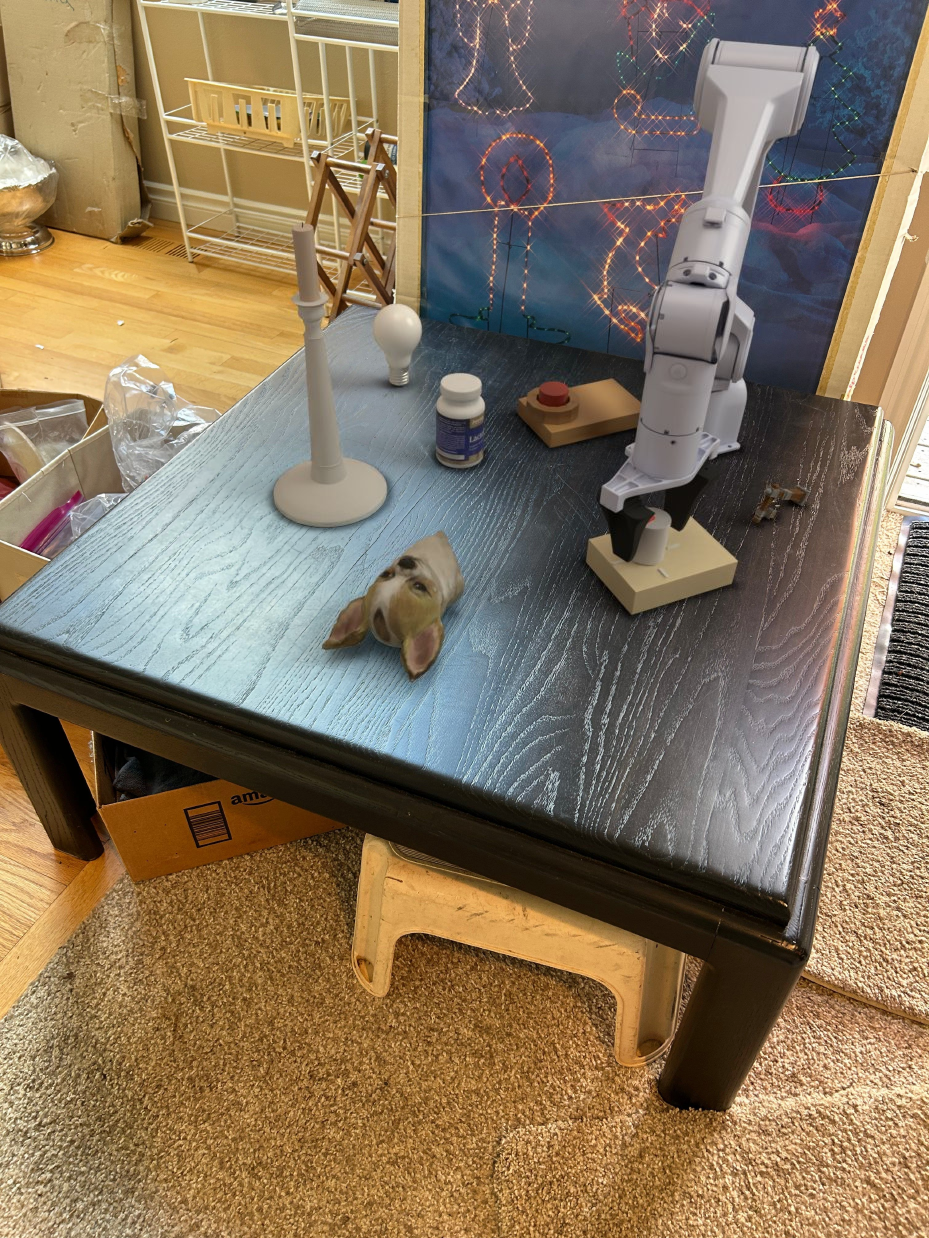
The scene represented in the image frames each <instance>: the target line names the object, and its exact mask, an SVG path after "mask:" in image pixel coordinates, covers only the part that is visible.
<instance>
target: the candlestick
mask: <svg viewBox="0 0 929 1238" xmlns="http://www.w3.org/2000/svg"><path fill="white" fill-rule="evenodd" d="M291 235H292V243H293V244H292V245H293V252H294V253H293V254H294V261H295V269H296V276H297V277H296V279H297V286H298V287H297V289H298V292H297V293H295V294H293V295H292V296H291V299H290V300H291V302H292V303H293V304H295V305H296V307H297V315H298V317H299V318H300V319H301V320H302V323H303V325H304V332H303V334H302V336H303V343H304V356H305V357H304V358H305V372H306V389H307V390H306V393H307V405H308V406H307V407H308V422H309V425H308V426H309V439H310V441H309V442H310V459H309V460H305V461H302V462H301V463H298V464H296V465H294V466H293V467H291V468H289V469H288V470H287V471H286V472H284V473H283V474H282V475H281V476H280V477H279V478H278V480H277V481H276V483H275V485H274V487H273V492H272V493H273V494H272V495H273V502H274V505H275V507H276V509H277V510H278V511H279V512H280V514H281V515H283V516H284V517H285V518H287V519H289V520H290V521H292V522H295V523H297V524H301V525H304V526H309V527H315V528H316V527H317V528H334V527H335V528H336V527H343V526H348V525H352V524H354V523H358V522H361V521H363V520H365V519H367V518H369V517H370V516H372V515H373V514H375V513H376V512H377V511H378V510H379V509H380V508H381V507H382V506H383V505H384V503H385V502H386V499H387V496H388V485H387V481H386V479H385V477H384V475H382V473H381V472H380V471H379V470H378V469H377V468H376V467H374V466H372V465H370V464H369V463H367V462H364V461H362V460H359V459H355V458H352V457H346V456H344V455H343V450H342V445H341V438H340V437H341V436H340V432H339V431H340V430H339V426H338V424H339V423H338V419H337V412H336V406H335V398H334V393H333V386H332V379H331V373H330V366H329V359H328V353H327V346H326V340H325V336H326V335H325V332H324V331H323V329H322V322H323V318H324V317H325V315H326V310H325V307H324V306H325V304H326V302H328V301H329V298H330V297H329V295H328V294H327V293H326V292H324V291H320V290H321V289H320V282H319V281H320V280H319V273H318V272H319V271H318V261H317V251H316V249H317V248H316V241H315V229H314V226H313V225H312V224H309V223H304V222H303V221H302V222H301V223H297V224H294V225H293V226H291Z"/></svg>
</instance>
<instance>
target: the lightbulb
mask: <svg viewBox="0 0 929 1238" xmlns="http://www.w3.org/2000/svg"><path fill="white" fill-rule="evenodd" d="M372 335H373V338H374V341H375V343H376V344H377V346H378V347H379V348H380V350H381V351H382V353H383V354H384V358H385V361H386V363H387V365H388V374H389V375H388V376H389V378H388V379H389V383H390V384H391V385H394V386H396V387H402V386H405V385H406V384H408V383H409V382H410V363H411V361H412V357H413V356H412V355H413V354H414V353H413V352H414V351H415V350H416V348H417V346H418V345H419V343H420V341H421V339H422V335H423V325H422V322H421V318H420V316H419V315H418V313H417V312H416V311H415V310H414V309H412V308H411V306H409V305H406V304H403V303H391V304H387V305H386V306H383V307H382V308H381V309H380V310H379V311H378V312H377V314H376V315H375V317H374V320H373V323H372Z"/></svg>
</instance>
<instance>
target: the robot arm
mask: <svg viewBox="0 0 929 1238" xmlns="http://www.w3.org/2000/svg"><path fill="white" fill-rule="evenodd" d="M807 49H808V50H807ZM819 60H820V54H819V51H818V50H817V47H816V46H815V45H810V46H808V48H807V47H805V46H792V45H779V44H767V43H756V42H743V41H731V40H721V39H720V38H717V37H714V38H712V39H711V40H710V41H709V42H708V43H707V44H706V45H705V47H704V49H703V52H702V55H701V58H700V63H699V67H698V71H697V76H696V83H695V88H694V96H693V106H692V107H693V112H694V114H695V115H696V118H697V120H698V126H699V127H700V128H701V129H702V130H704V131H706V132H708V133H709V134H711V135H712V137H711V144H710V149H709V156H708V161H707V168H706V173H705V178H704V184H703V190H702V197H701V199H700V200H698V201H696V202H694V203H692V204H691V205H690V206H688V207H687V208H686V210H685V211H684V212H683V214H682V217H681V221H680V224H679V227H678V231H677V235H676V238H675V243H674V246H673V250H672V254H671V257H670V260H669V265H668V269H667V272H666V276H665V280H664V283H663V286H661V285H658V286H657V287H656V289H655V292H654V294H653V296H652V300H651V303H650V306H649V312H648V315H647V321H646V326H645V357H644V365H643V372H644V373H645V378H644V386H643V389H642V390H643V391H642V397H641V409H640V415H639V421H638V427H636V433H635V440H634V442H632V443H631V444H629V445H626V447H625V450H624V455H625V456H626V457H628V458H626V461H625V462H623V464H622V466H621V467H620V468H619V469H618V471H617V472H616V473H615V475H614V476H613V477H612V478H611V479H610V480H609V481H607V482H605V484H603V485H601V487H599V488H598V489H597V492H596V499H595V500H596V502H597V504H598V506H599V507H600V509H601V511H602V513H603V515H604V517H605V520H606V523H607V526H608V530H609V534H610V537H611V543H612V550H613V554H615V555H616V556H618V557H619V558H621V559H622V560H624V561H625V562H630V561H632V560H633V558H634V556H635V554H636V552H637V549H638V545H639V542H640V538H641V535H642V533H643V531H644V529H645V527H646V525H647V523H648V522H649V520H650V519H651V518H652V517H653V516H654V514H655V512H653V511H651V510H650V509H648V507H646V506H645V505H643V500H642V499H640V497H641V495H645V494H650V493H655V492H658V491H664V490H665V494H664V500H663V501H664V504H663V509H662V510H663V511H665V512H667V513H668V514H669V515H670V517H671V526H670V527H672V528H673V529H675V530H677V531H678V532H680V531H681V530H683V529H684V527H685V526H686V524H687V522H688V520H689V518H690V516H691V517H692V515H693V513H694V511H695V509H696V507H697V506H698V504H699V502H700V501H701V499H702V498H703V496H704V495H705V493H706V492H707V491H708V490H709V489H710V487H712V485H713V484H714V483H715V482H716V481H717V480H718V479H719V478H720V474H721V469H720V468H719V467H718V466H716V465H715V464H713V463H711V462H709V461H711V460H714V459H715V458H717V457H718V455H720V454H721V455H722V454H725V453H730V452H733V451H737V450H739V449H740V448H741V444H740V443H739V442H738V441H737V440H738V436H739V433H740V429H741V425H742V420H743V417H744V412H745V409H746V405H747V400H748V391H747V384H746V382H745V380H744V378H743V375H744V372H745V368H746V364H747V360H748V356H749V352H750V348H751V343H752V339H753V334H754V331H753V329H754V326H755V322H756V317H755V316H754V315H755V312H754V310H752V308H750V306H748V305H747V304H746V303H745V302H744V301H743V300H742V299H741V298H740V297H739V296H738V295H737V292H738V285H739V279H740V274H741V271H742V267H743V261H744V257H745V252H746V248H747V244H748V240H749V237H750V232H751V227H752V225H751V224H752V221H753V215H754V211H755V207H756V202H757V198H758V193H759V190H760V184H761V180H762V175H763V171H764V167H765V166H764V165H765V162H766V157H767V154H768V153H769V151H770V149H771V148H772V146H773V145H774V144H775V142H776V141H777V140H778V139H783V138H788V137H793V136H796V135H797V134H798V131H799V130H801V128H802V124H803V123H804V121H805V117H806V113H807V109H808V105H809V101H810V96H811V93H812V89H813V85H814V81H815V76H816V73H817V68H818V63H819Z"/></svg>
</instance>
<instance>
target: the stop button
mask: <svg viewBox="0 0 929 1238" xmlns="http://www.w3.org/2000/svg"><path fill="white" fill-rule="evenodd" d="M539 387H540V388H539V403H540V404H542V405H545V406H549V407H560V406H565V405H566V404H567V402H568V392H569V388H570V387H569V386H568V385H567V384H566V383H563V382H561V381H552V380H551V381H545V382H543V383H541V384H540V385H539Z"/></svg>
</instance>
